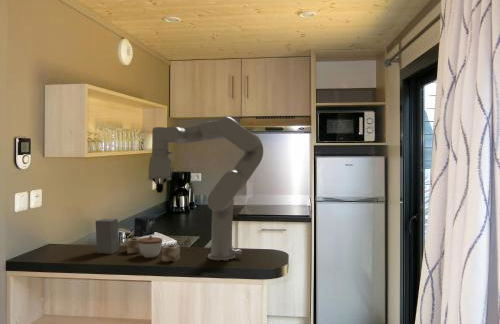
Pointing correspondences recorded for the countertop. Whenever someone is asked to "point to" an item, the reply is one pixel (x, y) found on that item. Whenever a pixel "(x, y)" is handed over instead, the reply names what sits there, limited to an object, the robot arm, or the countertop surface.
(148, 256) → the lidded jar
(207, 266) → the countertop surface
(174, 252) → the marked block near
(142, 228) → the box
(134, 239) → the marked block far
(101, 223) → the skincare box
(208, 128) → the robot arm
